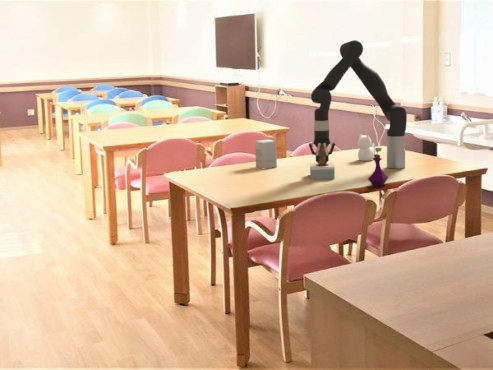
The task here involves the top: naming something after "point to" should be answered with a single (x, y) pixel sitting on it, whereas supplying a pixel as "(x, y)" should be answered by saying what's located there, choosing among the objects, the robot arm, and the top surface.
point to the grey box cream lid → (322, 171)
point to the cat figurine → (365, 148)
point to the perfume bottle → (378, 172)
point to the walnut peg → (322, 156)
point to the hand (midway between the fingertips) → (322, 162)
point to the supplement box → (265, 153)
